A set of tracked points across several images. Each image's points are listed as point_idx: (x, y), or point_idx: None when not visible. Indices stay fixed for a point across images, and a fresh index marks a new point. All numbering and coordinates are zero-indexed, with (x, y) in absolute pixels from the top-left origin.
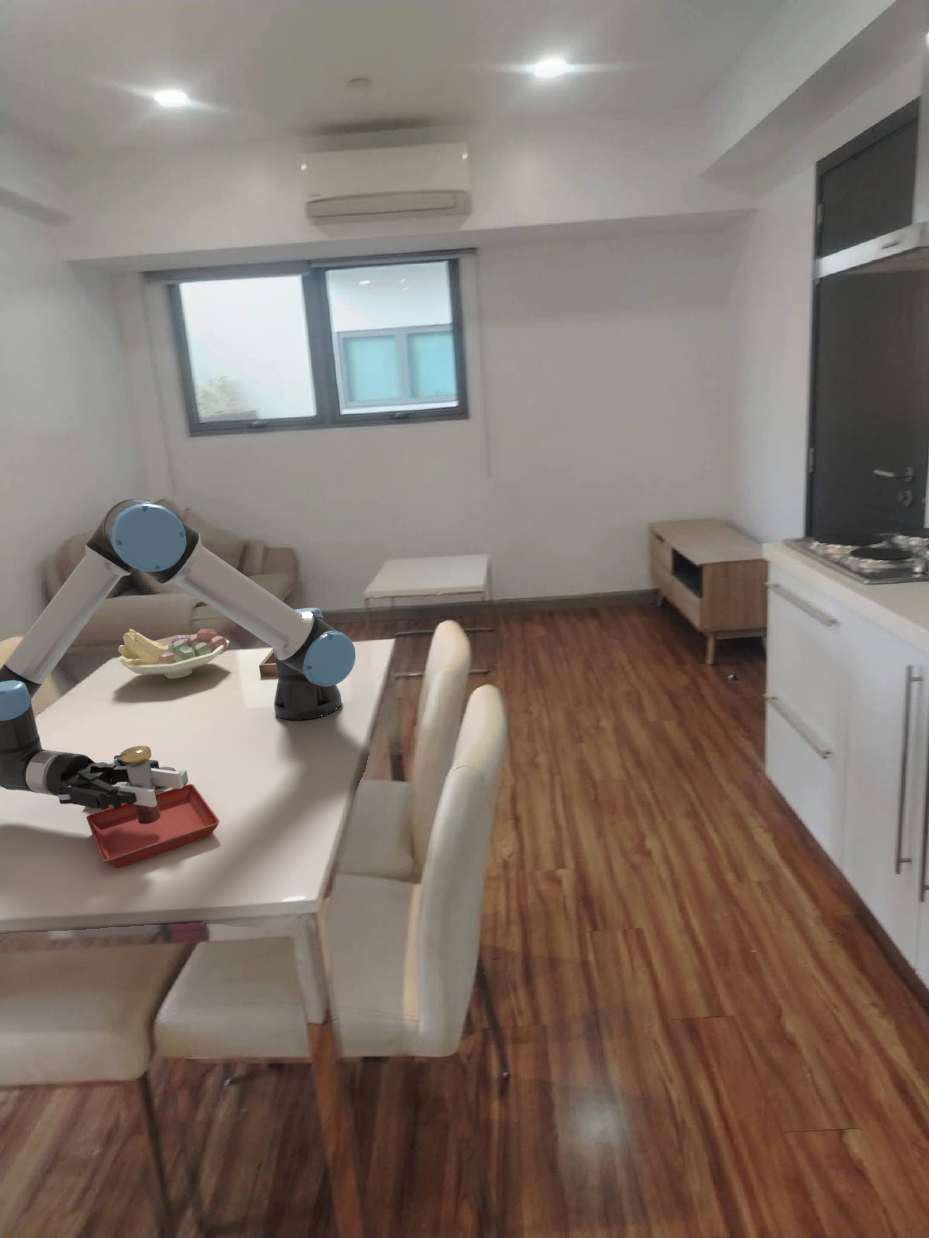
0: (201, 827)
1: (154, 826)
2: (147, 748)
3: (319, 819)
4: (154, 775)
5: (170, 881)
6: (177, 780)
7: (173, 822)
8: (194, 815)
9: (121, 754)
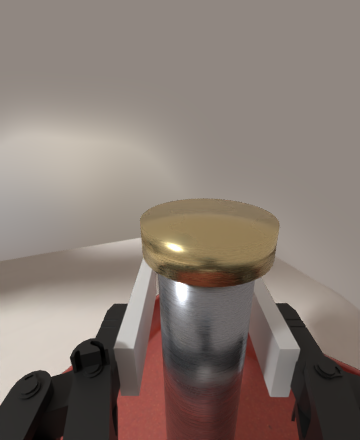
0: (158, 340)
1: None
2: (167, 206)
3: (123, 248)
4: (142, 333)
5: (285, 301)
6: (155, 276)
7: (146, 420)
8: None
9: (261, 236)
